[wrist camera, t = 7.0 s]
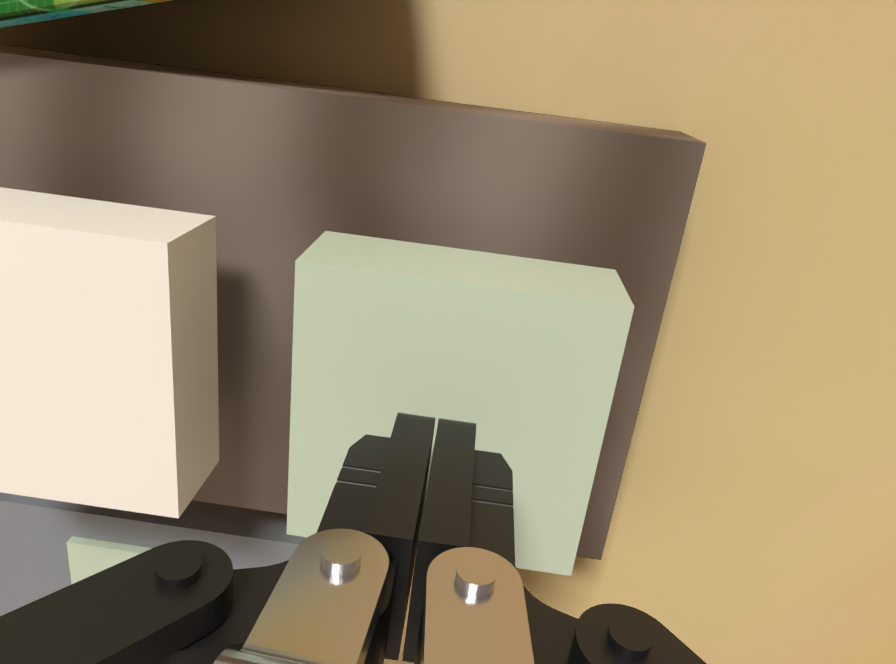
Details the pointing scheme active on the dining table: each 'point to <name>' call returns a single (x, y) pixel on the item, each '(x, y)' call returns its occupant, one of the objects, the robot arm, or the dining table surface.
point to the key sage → (457, 371)
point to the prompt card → (119, 540)
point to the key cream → (107, 352)
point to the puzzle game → (58, 9)
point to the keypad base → (348, 211)
